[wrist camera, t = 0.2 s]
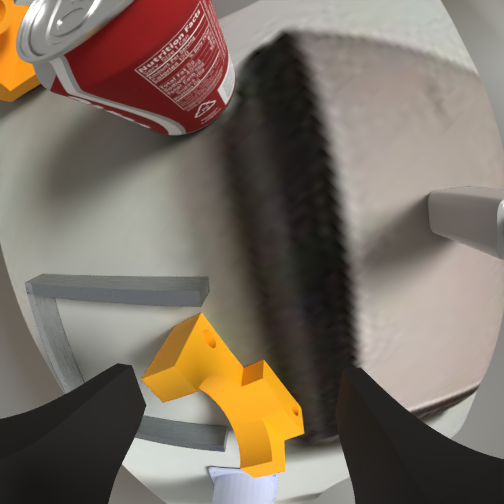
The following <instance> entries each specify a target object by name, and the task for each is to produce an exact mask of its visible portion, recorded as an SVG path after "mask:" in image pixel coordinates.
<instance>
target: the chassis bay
mask: <svg viewBox="0 0 504 504" xmlns="http://www.w3.org/2000/svg"><path fill="white" fill-rule="evenodd" d="M25 286H26V290H27V294H28V298H29V302H30V305H31V308H32V312H33V315H34V318H35V321H36V324H37V327H38V330H39V333H40V336H41V338H42V341H43V344H44V346H45V349H46V351H47V354H48V356H49V359H50V361H51V363H52V366H53V368H54V370H55V372H56V375H57V377H58V379H59V381H60V383H61V385H62V387H63V389H64V391H65V393H66V394H67V393H68V392H70V391H72V390H74V389H75V388H77V387H79V386H80V385H82V384H84V381H83V379H82V376H81V374H80V372H79V369H78V367H77V364H76V362H75V359H74V357H73V354H72V352H71V349H70V346H69V344H68V341H67V338H66V335H65V332H64V329H63V326H62V323H61V319H60V316H59V313H58V309H57V306H56V302H55V298H64V299H74V300H85V301H96V302H109V303H123V304H140V305H160V306H189V307H201V306H202V304H203V302H204V300H205V299H206V297H207V295H208V293H209V291H210V290H209V279H208V277H132V276H84V275H54V274H41V275H39V276H37V277H35V278H33V279H31V280H29V281H27V282H25ZM54 297H55V298H54ZM227 436H228V429H227V427H226V426H212V425H202V424H193V423H185V422H177V421H171V420H165V419H159V418H153V417H148V416H143V418H142V421H141V424H140V427H139V429H138V431H137V433H136V435H135V438H139V439H144V440H148V441H153V442H157V443H162V444H168V445H173V446H179V447H186V448H193V449H201V450H210V451H221V452H225V448H226V442H227Z"/></svg>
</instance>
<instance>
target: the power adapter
mask: <svg viewBox="0 0 504 504" xmlns="http://www.w3.org/2000/svg"><path fill="white" fill-rule="evenodd" d="M428 213H429V225H430V229H431V231H432V232H433V233H435V234H438V235H441V236H443V237H446V238H449V239H451V240H454V241H457V242H459V243H462V244H465V245H467V246H470V247H472V248H475V249H477V250H480V251H482V252H485V253H487V254H490V255H492V256H494V257H497V258H499V259H502V260H504V190H503V189H494V188H484V187H473V186H467V187H458V188H451V189H443V190H436V191H432V192H431V193H430V194H429V196H428Z"/></svg>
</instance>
